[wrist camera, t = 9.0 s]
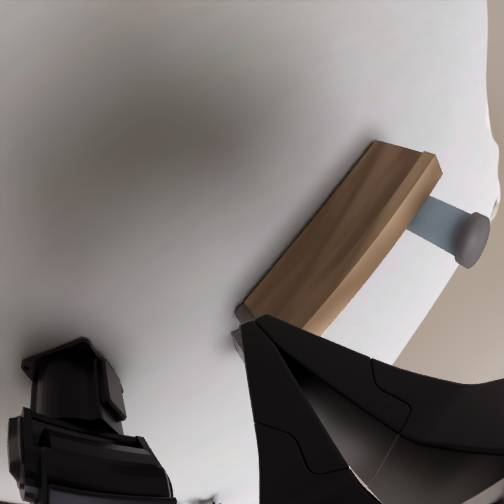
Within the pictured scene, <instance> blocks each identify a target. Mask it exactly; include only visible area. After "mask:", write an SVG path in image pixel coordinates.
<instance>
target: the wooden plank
mask: <svg viewBox="0 0 504 504" xmlns="http://www.w3.org/2000/svg"><path fill="white" fill-rule="evenodd" d="M442 175H443V173H442V170H441V168H440V165H439V162H438V160H437V157H436V155H435V154H432V153H429V152H426V151H424V152H423V153H422V152H418V151H415V150H411V149H408V148H404V147H401V146H397V145H393V144H389V143H385V142H381V141H377V140H375V142H374V143H373V144H372V145H371V147H370V148H369V149H368V151H367V152H366V153H365V154H364V156H363V157H362V158H361V160H360V161H359V162H358V163H357V165H356V166H355V167H354V168H353V170H352V171H351V172H350V173H349V175H348V176H347V177H346V178H345V180H344V181H343V182H342V183H341V185H340V186H339V187H338V188H337V190H336V191H335V192H334V193H333V195H332V196H331V197H330V198H329V200H328V201H327V202H326V203H325V205H324V206H323V207H322V208H321V210H320V211H319V212H318V213H317V215H316V216H315V217H314V218H313V219H312V221H311V222H310V223H309V224H308V226H307V227H306V228H305V229H304V230H303V232H302V233H301V234H300V235H299V237H298V238H297V239H296V240H295V241H294V243H293V244H292V245H291V246H290V248H289V249H288V250H287V251H286V252H285V254H284V255H283V256H282V257H281V258H280V260H279V261H278V262H277V263H276V264H275V266H274V267H273V268H272V269H271V270H270V272H269V273H268V274H267V275H266V276H265V278H264V279H263V280H262V281H261V282H260V284H259V285H258V286H257V287H256V288H255V289H254V291H253V292H252V293H251V294H250V295H249V297H248V298H247V299H246V300H245V301H244V303H245V304H242V305H241V306H240V307H239V308H238V309H237V311H236V317H237V318H238V320H239V321H240V323H241V324H242V323H245V322H247V321H249V320H254V318H256V317H258V316H260V315H263V314H270V315H272V316H274V317H276V318H278V319H281V320H283V321H285V322H287V323H290V324H292V325H294V326H297V327H299V328H301V329H303V330H306V331H308V332H310V333H313V334H315V335H317V336H320V335H321V334H322V333H323V332H324V331H325V330H326V329H327V328H328V326H329V325H330V324H331V323H332V322H333V321H334V319H335V318H336V317H337V316H338V315H339V314H340V313H341V311H342V310H343V309H344V308H345V307H346V305H347V304H348V303H349V302H350V301H351V299H352V298H353V297H354V296H355V295H356V293H357V292H358V291H359V290H360V288H361V287H362V286H363V285H364V283H365V282H366V281H367V280H368V278H369V277H370V276H371V275H372V273H373V272H374V271H375V270H376V268H377V267H378V266H379V264H380V263H381V262H382V261H383V259H384V258H385V257H386V255H387V254H388V253H389V251H390V250H391V249H392V247H393V246H394V245H395V243H396V242H397V240H398V239H399V238H400V236H401V235H402V234H403V232H404V231H405V229H406V228H407V227H408V225H409V224H410V222H411V221H412V220H413V218H414V217H415V215H416V214H417V212H418V211H419V209H420V208H421V207H422V205H423V204H424V202H425V201H426V199H427V198H428V196H429V195H430V193H431V192H432V190H433V189H434V187H435V185H436V184H437V182H438V181H439V179H440V178H441V176H442Z"/></svg>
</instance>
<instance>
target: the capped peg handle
mask: <svg viewBox="0 0 504 504" xmlns="http://www.w3.org/2000/svg"><path fill="white" fill-rule="evenodd" d="M406 229H407V230H409V231H411V232H413V233H415V234H416V235H418V236H420V237H422V238H424V239H426V240H427V241H429V242H431V243H433V244H435V245H436V246H438V247H440V248H442V249H444V250H445V251H447V252H449V253H451V254H452V255H454V256H455V260H456V262H457V263H459V264H460V265H462V266H464V267H466V268H467V269H468V268H471V267H472V266H473V265H474V264H475V263H476V262H477V261H478V259H479V258H480V256H481V254H482V252H483V250H484V248H485V246H486V243H487V240H488V236H489V231H490V221H489V218H488V217H486V216H484V215H482V214H480V213H478V212H475V213H473V214H472V215H471V214H469V213H467V212H465V211H463V210H461V209H458V208H456V207H454V206H452V205H450V204H447V203H445V202H443V201H441V200H438V199H436V198H434V197H431V196H428V198H427V199H426V201H425V202H424V204H423V205H422V207H421V208H420V209H419V211H418V212H417V214H416V215H415V217H414V218H413V220H412V221H411V222H410V224H409V225H408V227H407V228H406Z"/></svg>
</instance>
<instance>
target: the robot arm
mask: <svg viewBox="0 0 504 504" xmlns="http://www.w3.org/2000/svg"><path fill="white" fill-rule="evenodd" d="M239 328H240V335H241V342H242V349H243V355H244V362H245V368H246V375H247V381H248V388H249V394H250V400H251V407H252V413H253V419H254V423H255V424H254V426H255V432H256V439H257V447H258V455H259V504H382V503H383V504H504V378H503V379H499V380H495V381H490V382H486V383H481V384H461V383H456V382H451V381H447V380H442V379H438V378H434V377H430V376H426V375H422V374H418V373H414V372H411V371H407V370H403V369H400V368H398V367H395V366H392V365H389V364H386V363H384V362H381V361H379V360H376V359H373V358H371V359H370V357H368V356H366V355H363V354H361V353H358V352H356V351H353V350H351V349H348V348H346V347H344V346H341V345H339V344H336V343H334V342H332V341H329V340H327V339H324V338H322V337H320V336H317V335H315V334H313V333H310V332H308V331H306V330H303V329H301V328H299V327H297V326H294V325H292V324H290V323H287V322H285V321H283V320H281V319H278V318H276V317H274V316H272V315H270V314H263V315H260V316H258V317H256V318H254V320H249V321H247V322H245V323H242V324H240V326H239ZM82 345H86V346H82ZM27 366H28V367H27ZM21 368H22V370H23V371H24V372H25V373H26V375H27V376H28V377H29V378H30V379H31V380H32V389H31V403H30V409H28V408H25V407H23V409H22V413H21V416H17V417H15V418H9V423H8V439H7V450H8V464H9V472H10V473H11V475H12V476H13V477H14V479H15V480H16V482H17V486H18V488H19V491H20V495H21V498H22V500H23V501H26V502H30V504H177V499H176V498H175V497H173V489H172V484H171V482H170V479H169V477H168V475H167V473H166V471H165V470H164V468H163V467H162V466H161V464H160V463H159V461H158V460H157V458H156V457H155V455H154V453H153V452H152V450H151V449H150V447H149V445H148V444H147V442H146V441H145V439H144V437H140V436H135V437H132V436H127V435H124V433H123V428H122V423H121V421H124V420H126V417H127V416H126V411H125V406H124V401H123V396H122V393H123V388H122V386H121V385H120V380H119V378H118V376H117V375H116V374H115V372H114V371H113V369H112V368H111V367H110V365H109V364H108V362H107V361H106V360H105V359H103V358H101V357H100V356H99V355H98V353H97V352H96V350H95V349H94V347H93V346H92V344H91V343H90V341H89V340H87V339H84V338H83V339H79V340H76V341H74V342H71V343H68V344H66V345H63V346H60V347H58V348H55V349H52V350H49V351H47V352H44V353H41V354H39V355H36V356H33V357H30V358H28V359H25V360H23V361H22V363H21ZM348 465H349V466H350V467H351V469H352V470H353V471H354V472H355V473H356V474H357V475H358V476H359V478H360V479H361V480H362V481H363V482H364V483H365V484H366V485H368V486H367V487H368V488H369V489H370V490H371V491H372V492H373V493H374V495H376V497H377V498H378V499H379V500H380V501H381V502H382V503H381V502H380V501H378V500H377V499H376V498H375V497H374V496H373V495H372V494H371V493H370V492H369V491H368V490H367V489H366V488H365V487H363V485H362V484H361V483H360V482H359V481H358V479H357V478H356V477H355V475H354V474H353V472H352V471H351V469H349V466H348Z"/></svg>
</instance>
